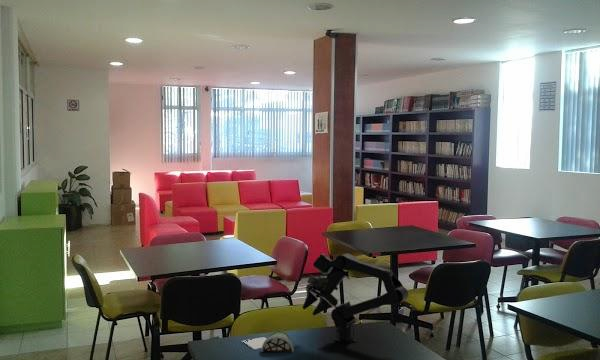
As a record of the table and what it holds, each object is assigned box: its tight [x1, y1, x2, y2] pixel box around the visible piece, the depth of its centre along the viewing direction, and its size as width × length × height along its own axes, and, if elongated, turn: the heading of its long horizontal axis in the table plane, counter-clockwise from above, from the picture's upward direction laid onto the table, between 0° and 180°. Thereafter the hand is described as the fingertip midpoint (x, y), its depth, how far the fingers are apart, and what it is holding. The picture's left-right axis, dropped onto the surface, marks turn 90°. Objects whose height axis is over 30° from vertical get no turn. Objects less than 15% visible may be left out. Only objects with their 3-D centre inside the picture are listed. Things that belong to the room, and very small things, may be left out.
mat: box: [241, 336, 268, 351], centre depth 213 cm, size 10×12×1 cm
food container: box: [261, 330, 295, 353], centre depth 206 cm, size 12×6×10 cm
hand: (308, 311), depth 212 cm, fingers open, 9 cm apart
